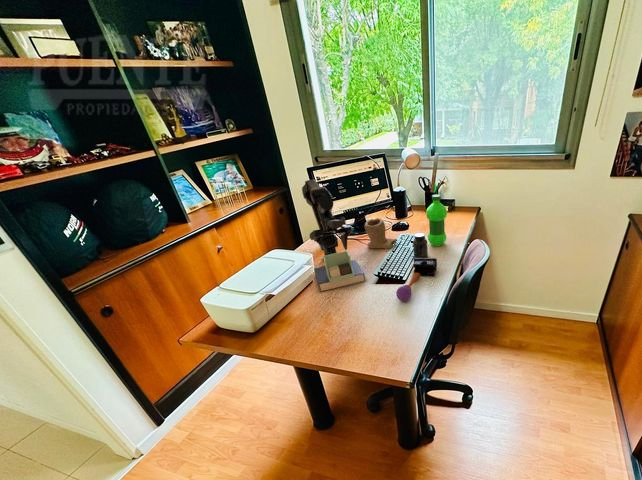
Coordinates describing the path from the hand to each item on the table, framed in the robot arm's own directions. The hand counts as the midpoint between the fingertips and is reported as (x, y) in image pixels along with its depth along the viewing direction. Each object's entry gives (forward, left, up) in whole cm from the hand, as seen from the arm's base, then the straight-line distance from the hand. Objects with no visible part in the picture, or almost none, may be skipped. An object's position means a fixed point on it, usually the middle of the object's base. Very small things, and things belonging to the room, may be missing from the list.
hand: (337, 251), depth 144 cm
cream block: (+6, -8, -5) cm, 11 cm away
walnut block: (+8, -4, -5) cm, 11 cm away
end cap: (+32, +22, -12) cm, 41 cm away
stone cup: (-6, +33, -12) cm, 36 cm away
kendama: (+36, +6, -12) cm, 38 cm away
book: (+2, -3, -12) cm, 12 cm away
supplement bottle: (+21, +33, -12) cm, 41 cm away
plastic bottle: (+18, +51, -12) cm, 56 cm away
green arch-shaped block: (+7, -6, -8) cm, 12 cm away
